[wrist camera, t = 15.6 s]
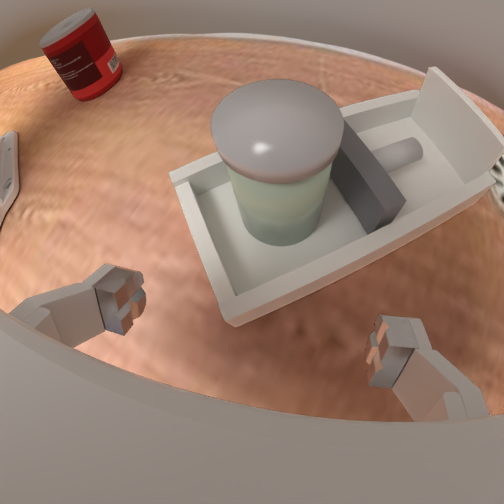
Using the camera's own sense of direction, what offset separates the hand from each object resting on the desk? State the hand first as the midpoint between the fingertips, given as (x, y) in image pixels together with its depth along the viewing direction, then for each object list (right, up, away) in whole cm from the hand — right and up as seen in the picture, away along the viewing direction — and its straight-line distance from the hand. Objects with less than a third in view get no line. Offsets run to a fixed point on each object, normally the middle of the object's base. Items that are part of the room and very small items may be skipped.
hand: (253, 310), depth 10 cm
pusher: (+9, +7, +10) cm, 15 cm away
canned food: (-20, +24, +21) cm, 38 cm away
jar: (+2, +5, +10) cm, 11 cm away
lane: (+7, +6, +11) cm, 14 cm away
